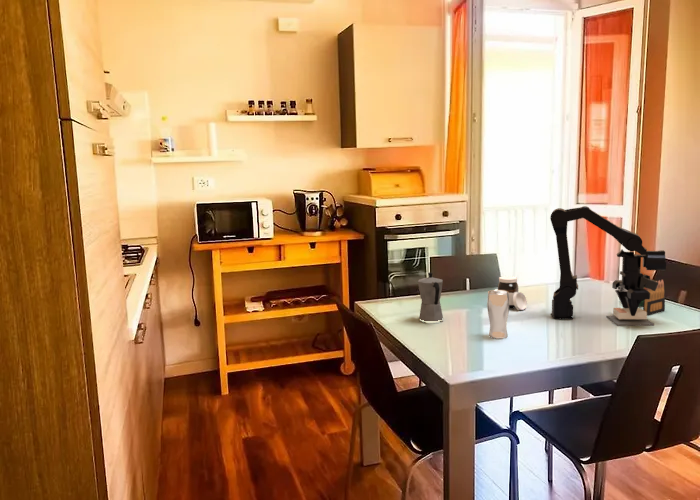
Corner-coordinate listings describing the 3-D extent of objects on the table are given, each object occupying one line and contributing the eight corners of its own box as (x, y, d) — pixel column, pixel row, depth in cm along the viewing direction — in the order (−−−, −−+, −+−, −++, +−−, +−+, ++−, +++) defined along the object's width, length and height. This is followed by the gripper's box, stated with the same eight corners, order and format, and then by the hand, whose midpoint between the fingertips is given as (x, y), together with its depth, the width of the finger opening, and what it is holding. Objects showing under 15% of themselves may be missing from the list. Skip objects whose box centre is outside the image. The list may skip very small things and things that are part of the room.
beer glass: (485, 333, 190) (485, 289, 188) (506, 333, 190) (506, 289, 187) (489, 339, 183) (489, 294, 181) (511, 339, 183) (511, 294, 181)
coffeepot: (413, 316, 214) (412, 270, 211) (437, 314, 216) (436, 268, 213) (425, 327, 199) (425, 277, 196) (451, 325, 201) (450, 276, 198)
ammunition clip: (647, 315, 204) (648, 283, 202) (642, 314, 205) (643, 282, 204) (664, 311, 209) (666, 279, 207) (659, 310, 211) (661, 278, 209)
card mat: (617, 325, 193) (617, 324, 193) (606, 317, 204) (606, 315, 204) (654, 325, 192) (654, 323, 192) (641, 316, 202) (641, 315, 202)
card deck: (646, 319, 194) (647, 312, 194) (619, 319, 195) (619, 312, 195) (639, 314, 200) (640, 307, 200) (613, 314, 201) (613, 307, 201)
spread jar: (500, 302, 230) (500, 274, 229) (529, 304, 225) (529, 276, 224) (494, 310, 220) (494, 280, 218) (524, 312, 215) (524, 282, 213)
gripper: (667, 274, 185) (665, 320, 187) (644, 264, 203) (643, 306, 206) (632, 274, 186) (630, 320, 188) (612, 265, 205) (611, 306, 207)
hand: (629, 313), depth 197 cm, fingers closed on card deck, 6 cm apart
